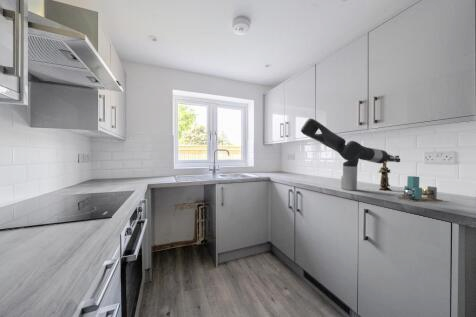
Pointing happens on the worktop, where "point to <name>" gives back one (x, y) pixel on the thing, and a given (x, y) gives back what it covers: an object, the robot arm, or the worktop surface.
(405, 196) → the pipe
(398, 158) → the robot arm
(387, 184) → the figurine
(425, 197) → the board
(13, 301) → the worktop surface
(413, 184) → the sleeve
